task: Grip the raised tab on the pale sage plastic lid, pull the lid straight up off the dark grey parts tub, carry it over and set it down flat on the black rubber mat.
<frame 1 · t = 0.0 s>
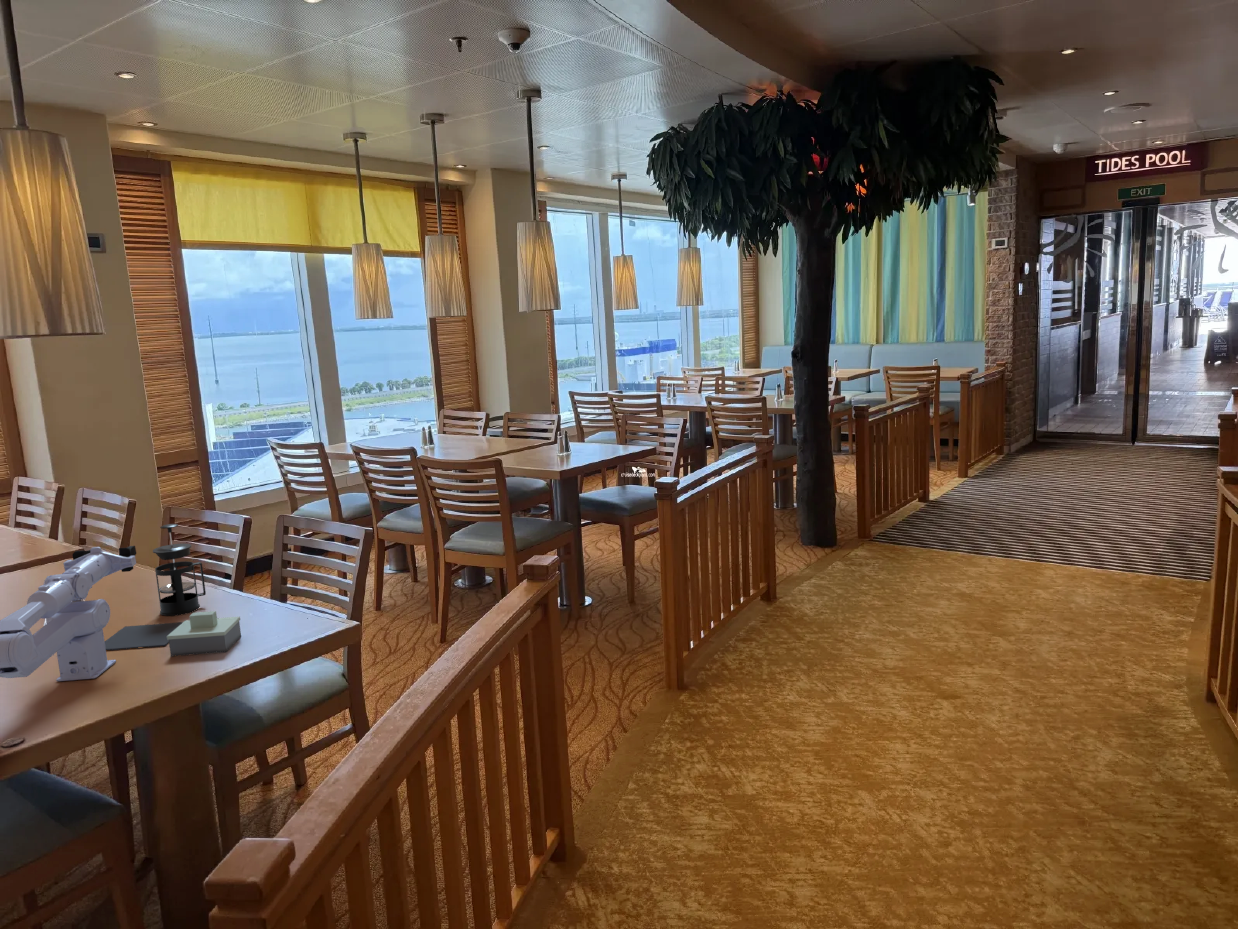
hand: (117, 550, 200), 22 cm above the table, tool horizontal, fingers open, 7 cm apart
lid: (205, 632, 196), point 3 cm above the table, touching tub
tub: (206, 646, 197), on the table
french press: (182, 610, 225), on the table
mat: (144, 636, 205), on the table
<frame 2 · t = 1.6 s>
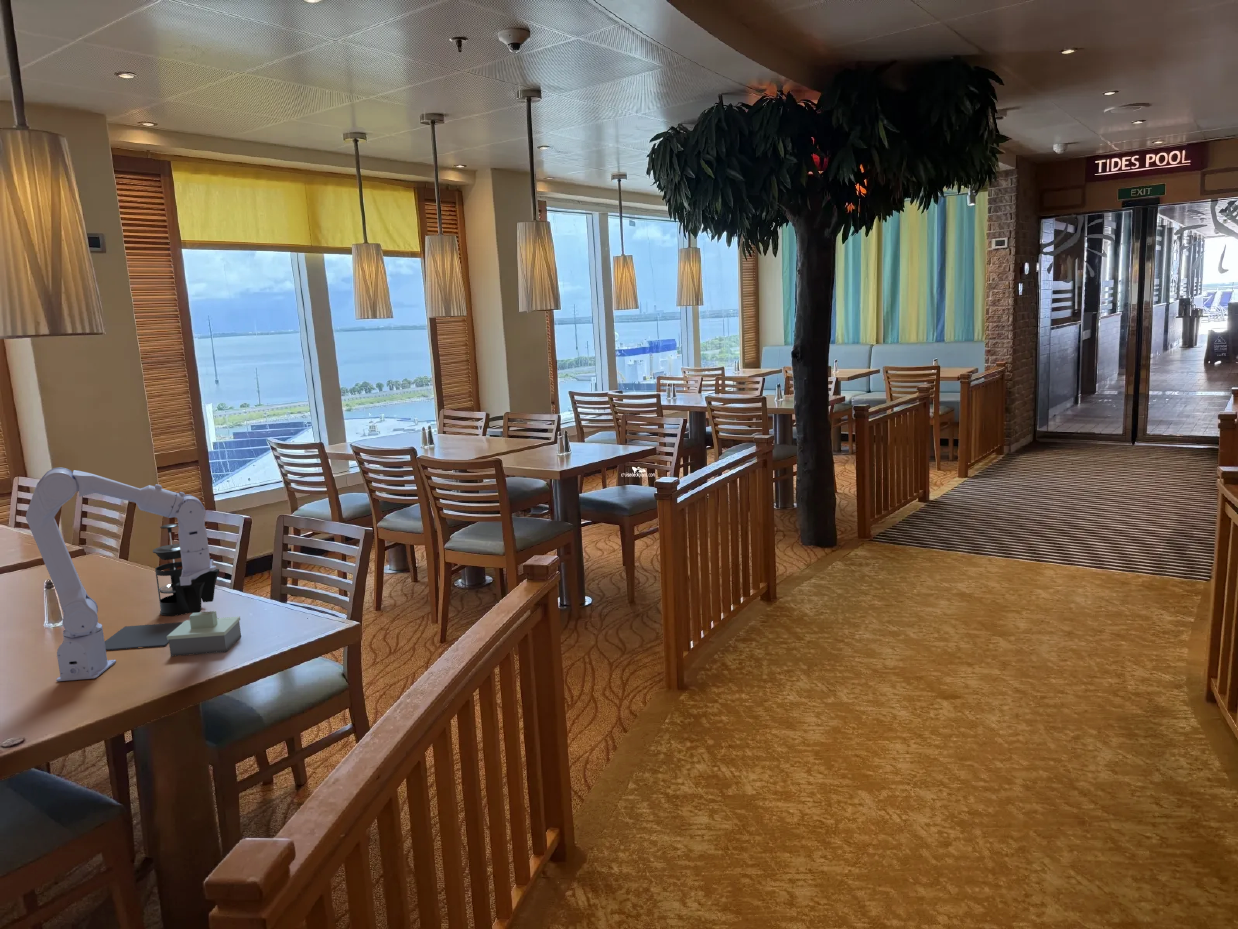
hand: (201, 606, 195), 9 cm above the table, tool pointing down, fingers open, 7 cm apart
nothing on the table moved.
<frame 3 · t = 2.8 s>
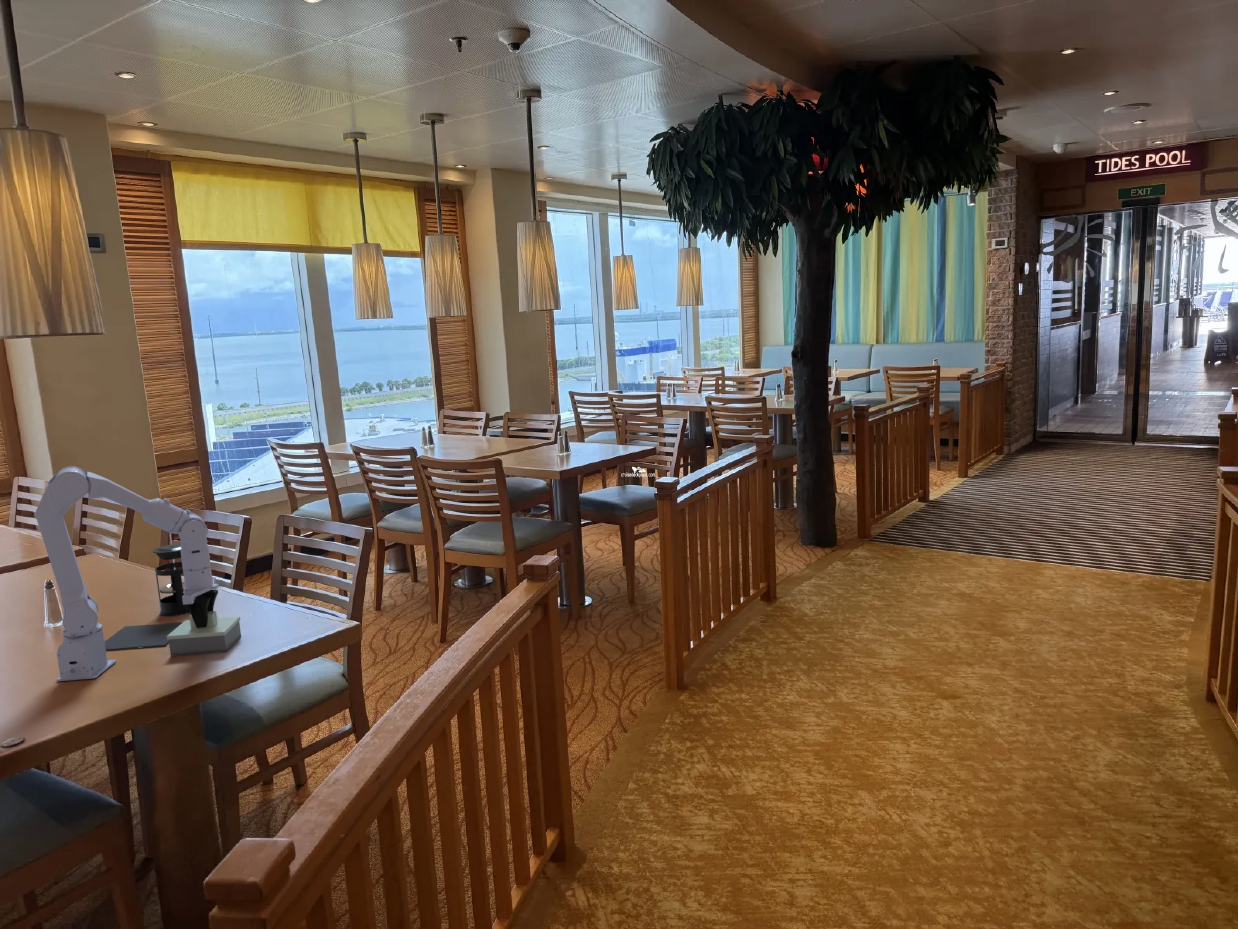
hand: (204, 624, 196), 5 cm above the table, tool pointing down, fingers closed on lid, 2 cm apart
lid: (205, 632, 196), point 3 cm above the table, touching gripper, tub
everything else where it was.
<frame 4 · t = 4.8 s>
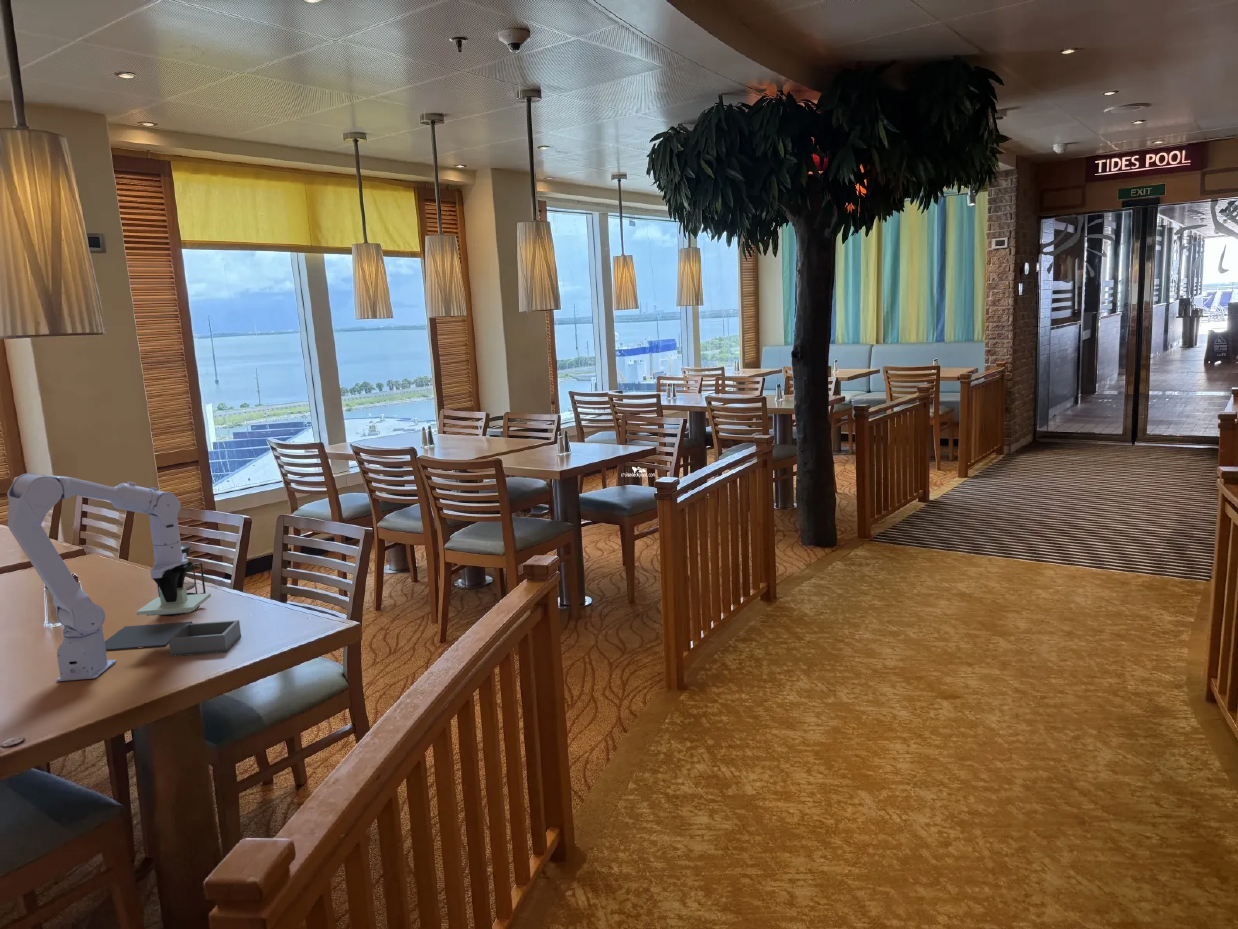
hand: (174, 599, 199), 10 cm above the table, tool pointing down, fingers closed on lid, 2 cm apart
lid: (175, 608, 199), point 8 cm above the table, touching gripper
everything else where it was.
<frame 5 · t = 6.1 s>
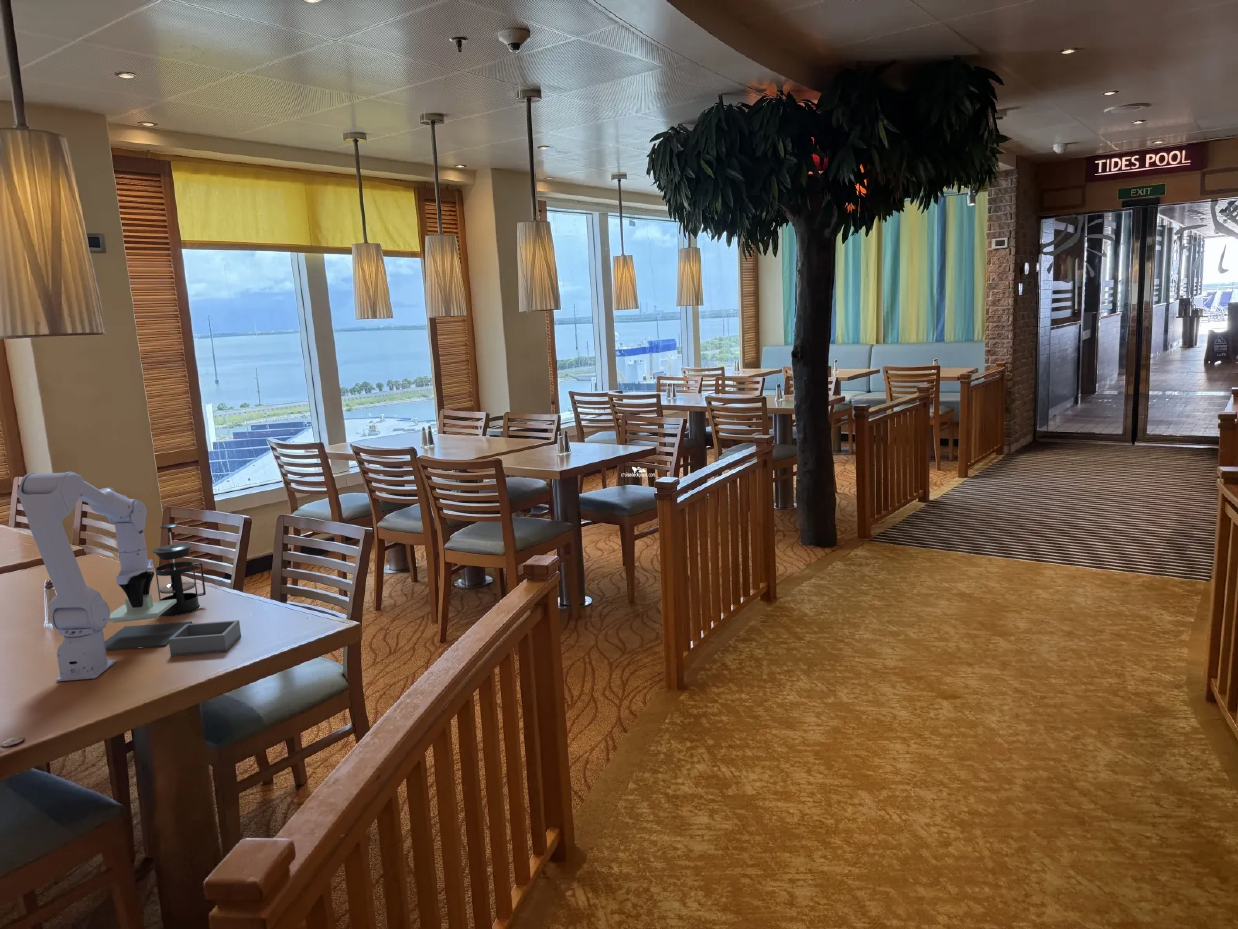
hand: (140, 605, 204), 8 cm above the table, tool pointing down, fingers closed on lid, 2 cm apart
lid: (141, 615, 204), point 5 cm above the table, touching gripper
everything else where it was.
when the fingers open (4 cm above the table, at t = 7.0 s): lid stays where it is, resting on mat.
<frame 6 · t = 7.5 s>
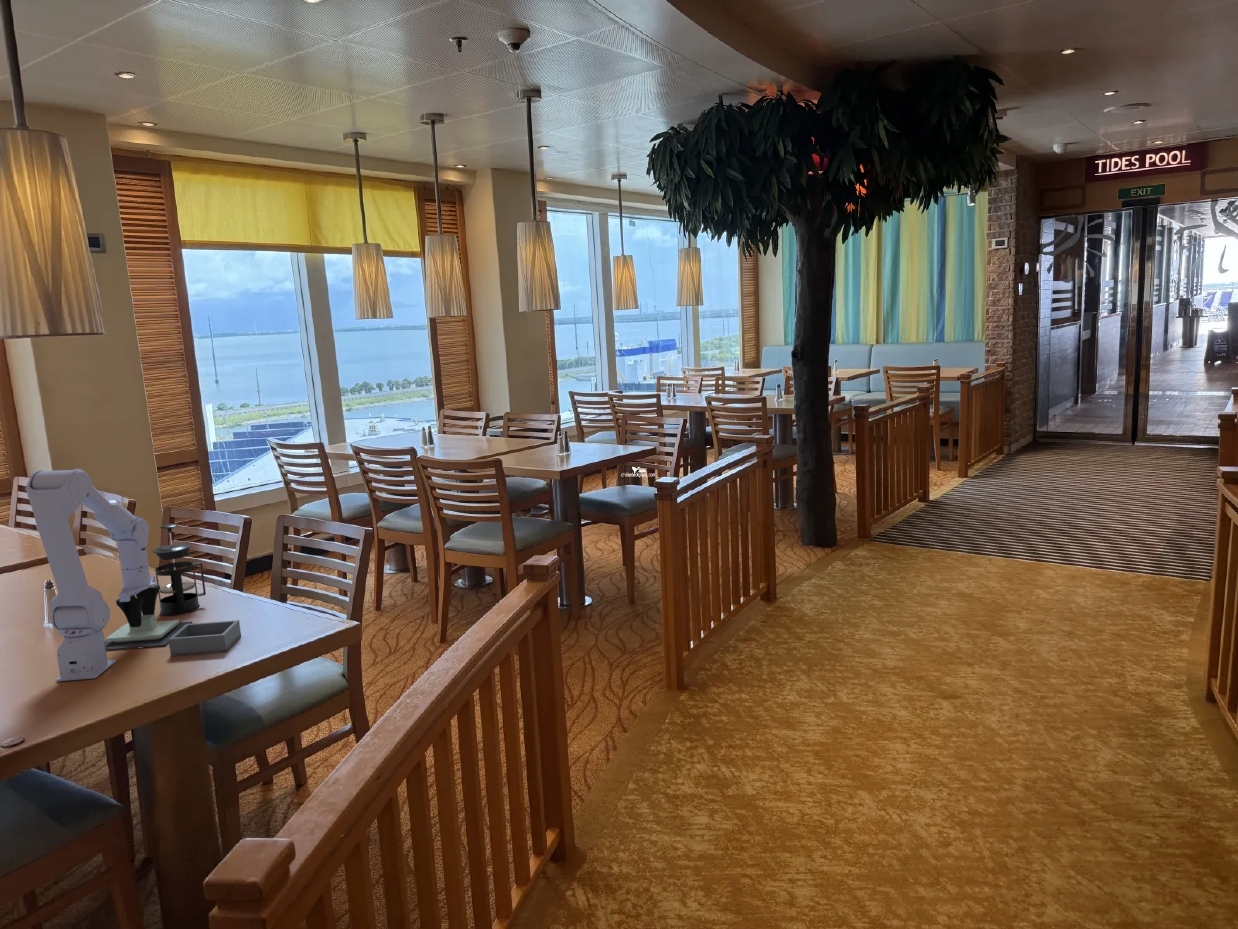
hand: (142, 621, 204), 4 cm above the table, tool pointing down, fingers open, 6 cm apart
lid: (144, 635, 205), resting on mat
everything else where it was.
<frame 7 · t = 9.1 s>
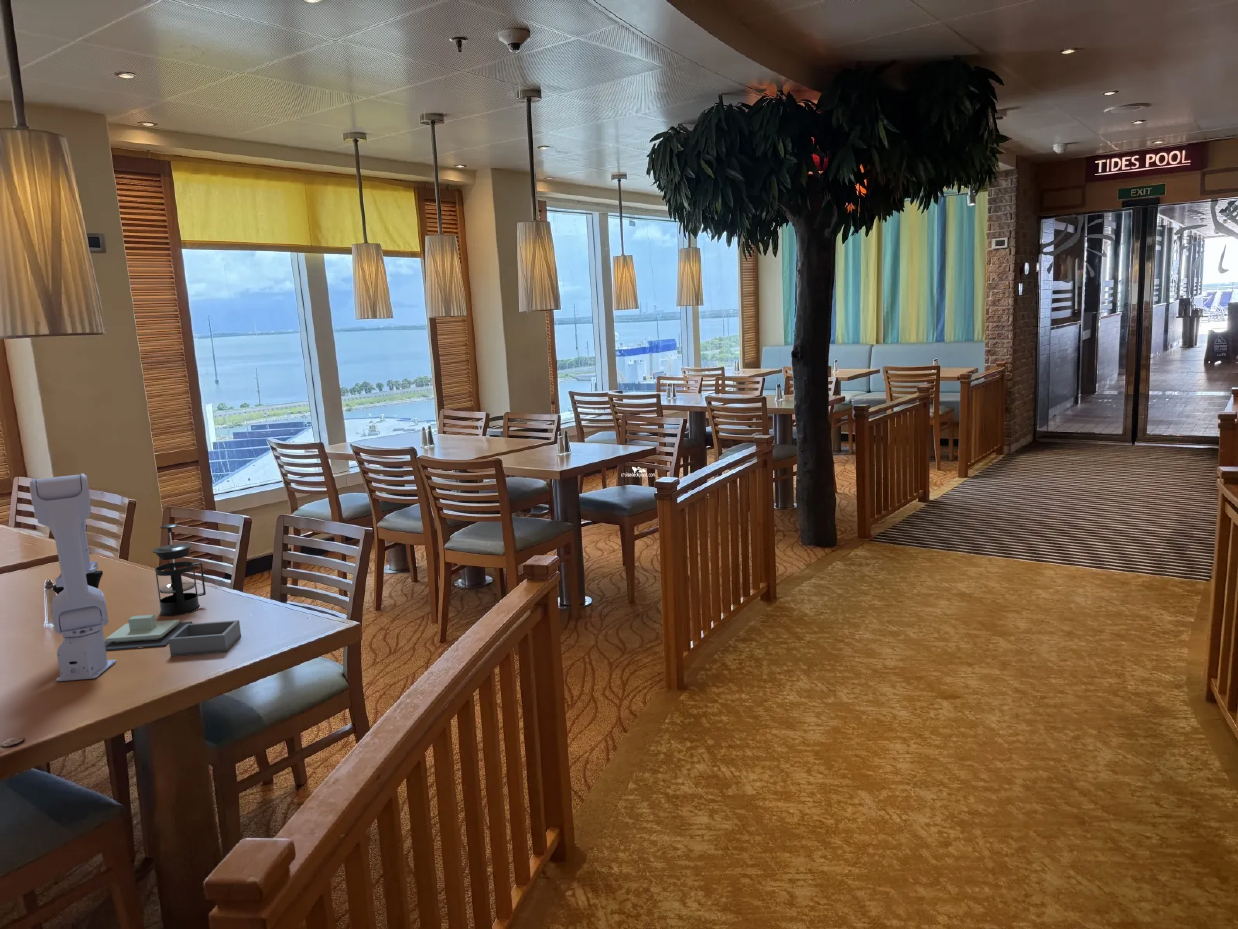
hand: (82, 608, 199), 9 cm above the table, tool pointing down, fingers open, 7 cm apart
nothing on the table moved.
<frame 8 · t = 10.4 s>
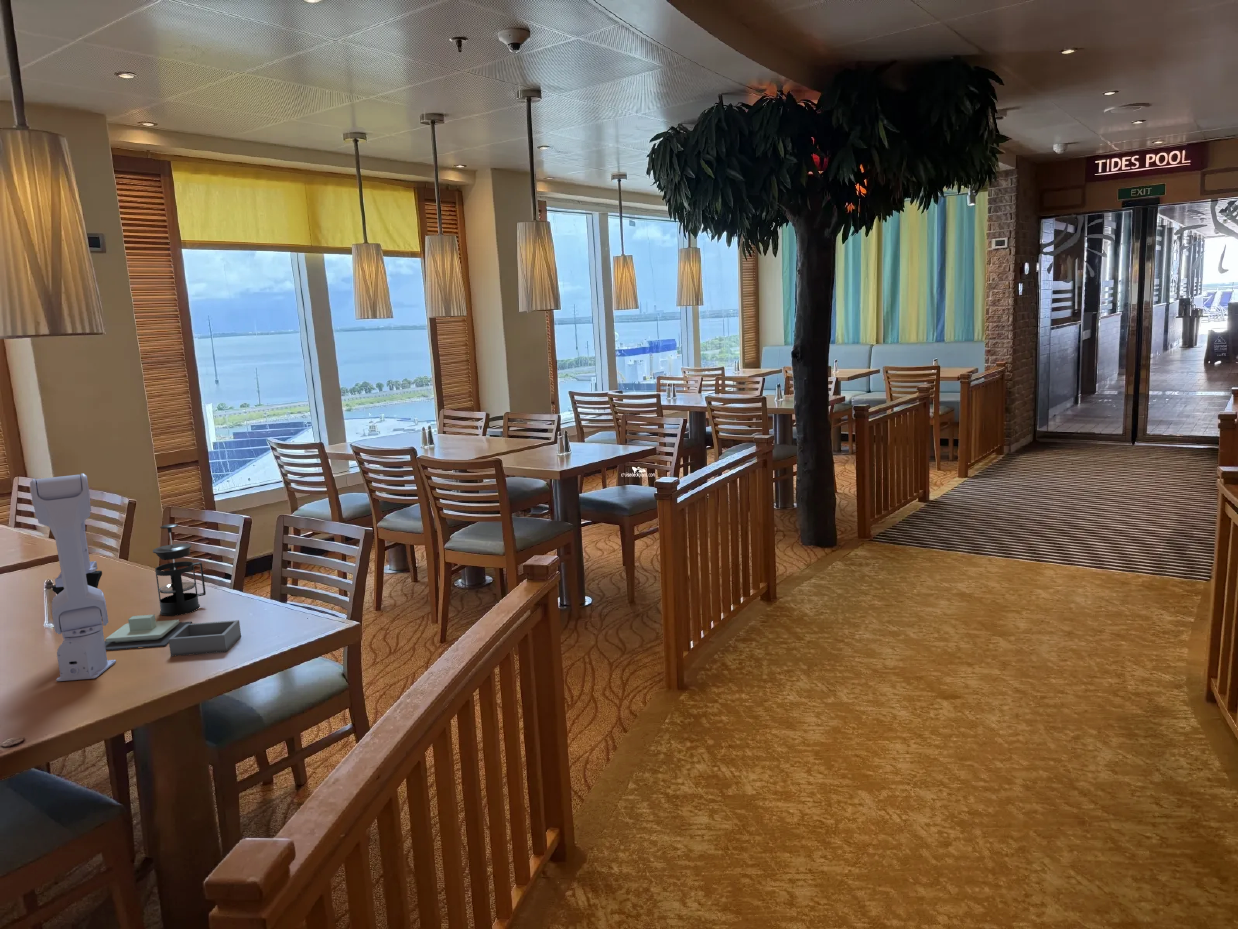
hand: (82, 608, 198), 9 cm above the table, tool pointing down, fingers open, 7 cm apart
nothing on the table moved.
at the end: lid inside the target area on the mat (0.1 cm from its centre), point 0.4 cm above the mat's base; lid tilted 0°; the gripper is holding nothing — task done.
